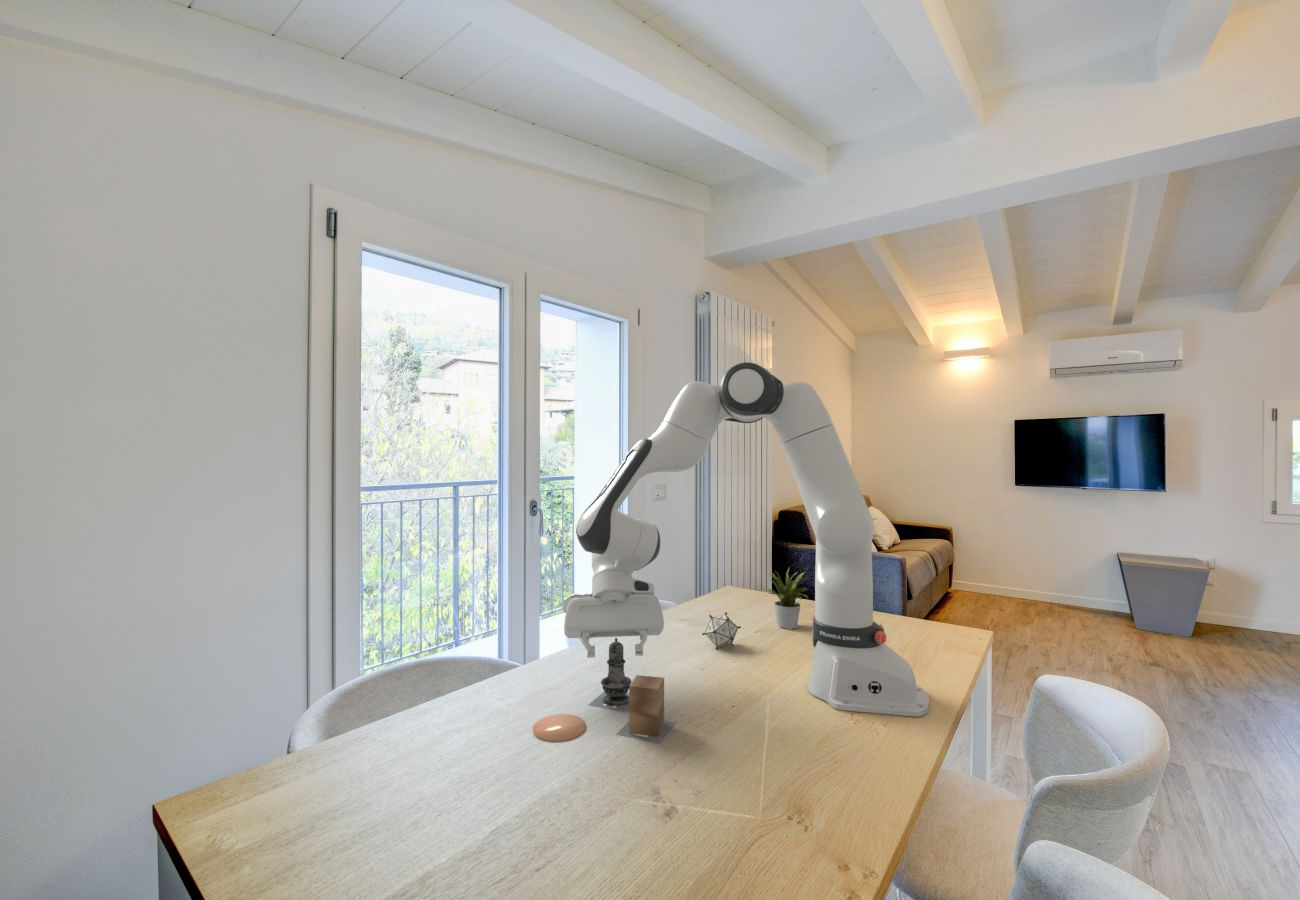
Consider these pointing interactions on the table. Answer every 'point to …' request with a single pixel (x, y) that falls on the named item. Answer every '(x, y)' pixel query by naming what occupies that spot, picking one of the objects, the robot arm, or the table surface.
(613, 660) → the salt shaker
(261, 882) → the table surface
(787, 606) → the house plant
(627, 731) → the tile block
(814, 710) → the table surface
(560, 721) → the coaster
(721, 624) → the white icosahedron model
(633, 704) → the walnut block
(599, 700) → the grey marker tile
